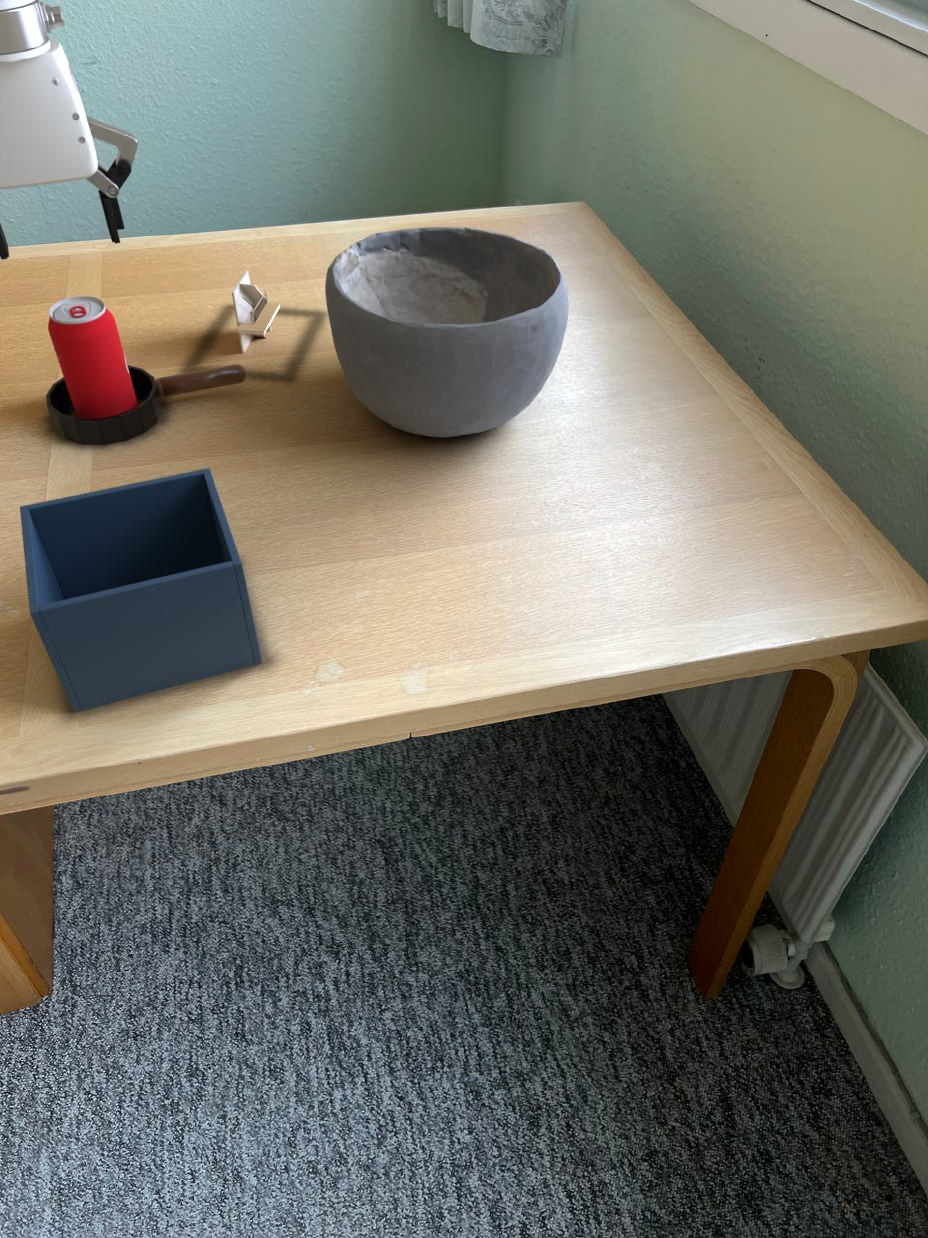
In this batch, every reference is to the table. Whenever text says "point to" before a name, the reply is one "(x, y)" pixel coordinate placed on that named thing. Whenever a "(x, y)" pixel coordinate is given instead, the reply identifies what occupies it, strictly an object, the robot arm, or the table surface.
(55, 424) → the pan
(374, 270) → the bowl
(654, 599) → the table surface
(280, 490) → the table surface
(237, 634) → the bin
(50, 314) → the beverage can
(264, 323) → the architectural model
